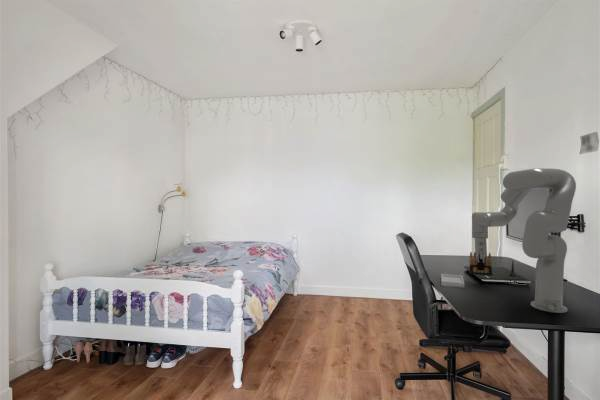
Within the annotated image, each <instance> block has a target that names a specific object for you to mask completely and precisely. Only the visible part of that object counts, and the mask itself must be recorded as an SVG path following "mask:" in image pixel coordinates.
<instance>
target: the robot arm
mask: <svg viewBox="0 0 600 400" xmlns="http://www.w3.org/2000/svg"><path fill="white" fill-rule="evenodd" d="M502 185H503V187H504V191H502V193H501V194H500V199H501V201H502V202H503V203H504V204H505V205H504V206H503V208H502V209H501V210H500V211H490V212H479V211H478V212H476V211H475V212H472V214H471V238H473V239H474V252H475V253H476V258H477V257H478V262H477V270H484V259H485V256H486V257H487V258H488V251H487V250H488V249H487V239H489V228H491V227H493V228H494V227H505V226H507V225H508V224H510V223H511V221H512V220H513V219H514V218H516V215H517V214H518V210H519V204H520V203H521V202H522V201H523V199H525V197H526V196H528V194H529V193H530V192H531V191H532V190H533V189H550V190H551V192H550V193H549V194H548V196H547V197H546V201H545V206H544V209H542V210H536V211H534V212H533V211H532V212H531V213H530V214H529V215H528V217H527V219H526V221H525V227H524V232H523V237H522V238H523V239H522V245H521V246H522V251H523V253H524V255H526V256H527V257H529V258H533V259H537V260H536V264H535V284H534V285H535V286H534V287H535V291H534V300H532V301H530V306H531V307H533V308H534V309H536V310H538V311H539V310H540V311H542V312H543V311H544V312H548V313H554V314H564V313H567V312H568V308H567V307H566V305H564V274H565V273H564V271H565V269H564V268H565V261H566V256H567V252H568V245H567V243H566V241H565V239H563V238H562V237H561V236H560V235H559V236H558V235H555V234H557V233H562V232H564V231H566V229H567V227H568V224H569V220H570V215H571V210H572V206H573V205H572V204H573V200H574V197H575V193H576V190H577V189H576V188H577V183H576V180H575V177H574V176H573V175H572V174H571V173H569V172H568V171H566V170H563V169H559V168H545V167H544V168H542V167H541V168H540V167H537V168H529V169H528V168H527V169H523V170H516V171H511V172H509V173H506V175H505V176H504V177H503V179H502ZM553 233H554V234H553ZM479 256H480V257H479Z"/></svg>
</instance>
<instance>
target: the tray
mask: <svg viewBox="0 0 600 400" xmlns="http://www.w3.org/2000/svg"><path fill="white" fill-rule="evenodd" d="M440 279H441V280H440V281H441V282H440V284H441V287H442V286H443V287H450V288H458V289H459V288H460V289H465V280H464V277H463V275H459V274H449V273H448V274H447V273H441V278H440Z"/></svg>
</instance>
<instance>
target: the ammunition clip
mask: <svg viewBox="0 0 600 400" xmlns="http://www.w3.org/2000/svg"><path fill="white" fill-rule="evenodd" d="M479 257H480V256H479ZM477 262H478V257H477V256H476V253H475V251H473V252H472V251H470V253H469V264H468V265H469V267H468V268H469V269H468V271H469V272H468V273H469V275H477V276H479V275H480V276H490V277H491V276H493V268H492V264H493V263H492V255H491V252H489V253H488V255H487V257H486V256H484V270H477Z"/></svg>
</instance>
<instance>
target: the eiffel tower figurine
mask: <svg viewBox="0 0 600 400" xmlns="http://www.w3.org/2000/svg"><path fill="white" fill-rule="evenodd" d="M514 263H515V261H514V260H511V270H510V273H509V276H508V277H507V278H510V279H515V280H516V279H518V278H517V276H516V274H515V268H514V267H515V266H514ZM510 279H509V280H510ZM506 284H509V285H518V286H519V285H520V286H525V285H527V283H525V284H518V283H510V282H506Z"/></svg>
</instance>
